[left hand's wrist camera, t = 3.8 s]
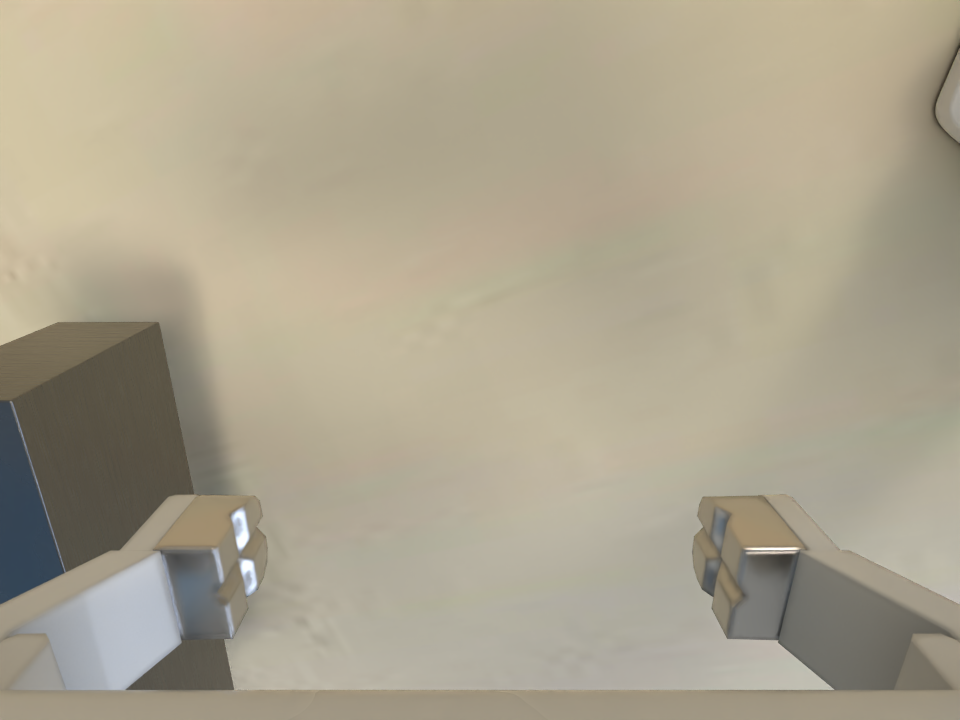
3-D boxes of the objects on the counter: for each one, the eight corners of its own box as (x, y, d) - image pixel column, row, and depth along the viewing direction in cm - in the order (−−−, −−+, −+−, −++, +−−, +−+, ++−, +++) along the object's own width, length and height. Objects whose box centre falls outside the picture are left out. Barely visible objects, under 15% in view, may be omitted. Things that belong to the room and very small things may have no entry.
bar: (57, 321, 28) (-138, 400, 19) (159, 321, 28) (11, 400, 19) (161, 709, 37) (61, 884, 29) (238, 709, 37) (162, 885, 28)
